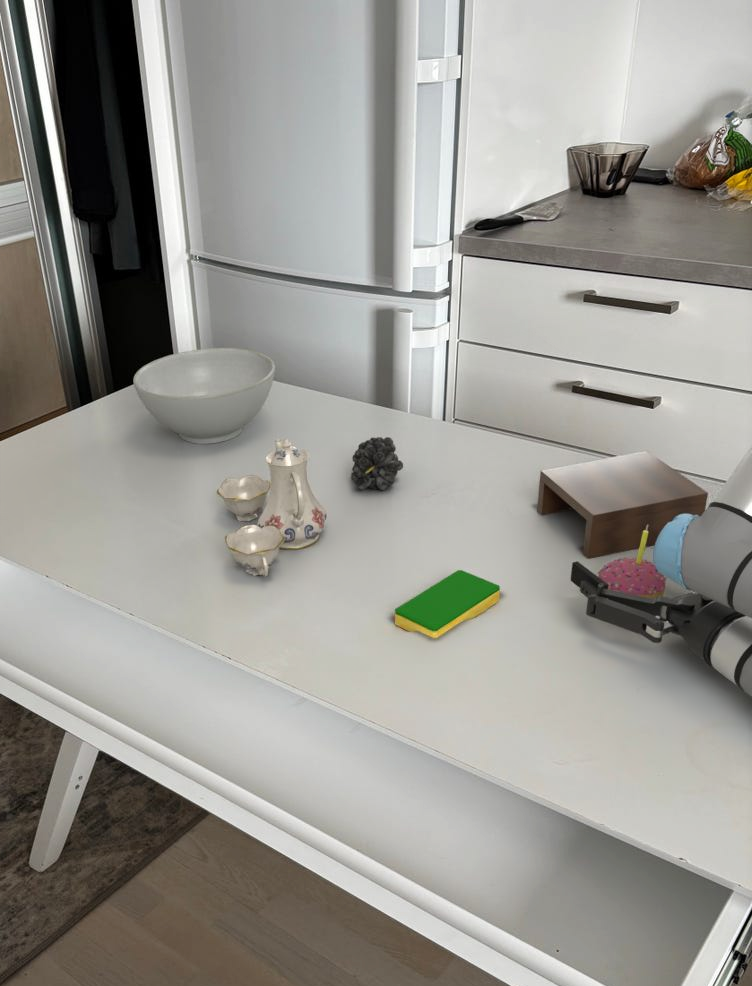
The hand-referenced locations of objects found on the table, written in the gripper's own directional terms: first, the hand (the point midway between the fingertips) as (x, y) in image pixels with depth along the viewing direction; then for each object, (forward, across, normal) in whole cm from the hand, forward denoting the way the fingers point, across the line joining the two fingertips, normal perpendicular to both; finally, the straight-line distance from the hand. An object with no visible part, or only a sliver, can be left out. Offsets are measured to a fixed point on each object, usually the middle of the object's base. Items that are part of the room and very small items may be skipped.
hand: (618, 558), depth 128 cm
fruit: (+49, -11, -7) cm, 51 cm away
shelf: (+18, +13, -6) cm, 23 cm away
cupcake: (-3, 0, -7) cm, 7 cm away
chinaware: (+38, -35, -7) cm, 52 cm away
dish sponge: (+7, -21, -7) cm, 23 cm away
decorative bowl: (+85, -31, -7) cm, 90 cm away
